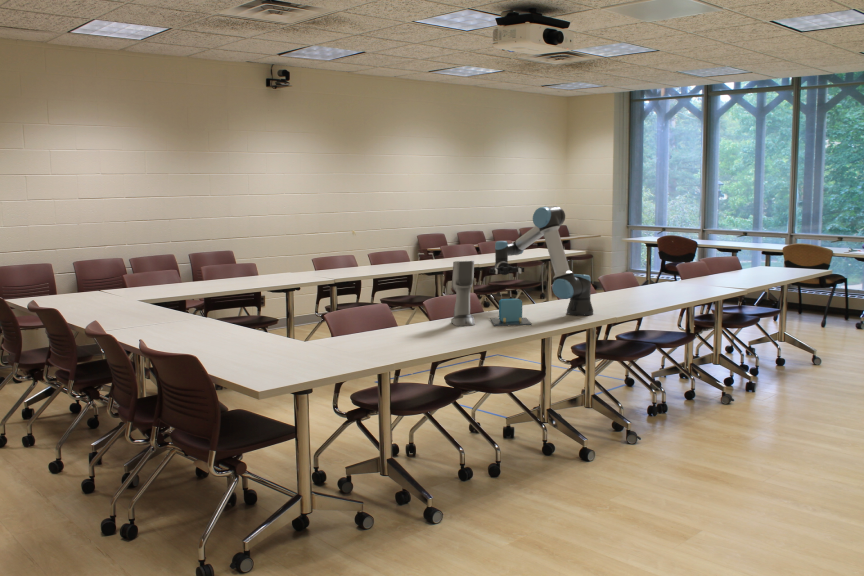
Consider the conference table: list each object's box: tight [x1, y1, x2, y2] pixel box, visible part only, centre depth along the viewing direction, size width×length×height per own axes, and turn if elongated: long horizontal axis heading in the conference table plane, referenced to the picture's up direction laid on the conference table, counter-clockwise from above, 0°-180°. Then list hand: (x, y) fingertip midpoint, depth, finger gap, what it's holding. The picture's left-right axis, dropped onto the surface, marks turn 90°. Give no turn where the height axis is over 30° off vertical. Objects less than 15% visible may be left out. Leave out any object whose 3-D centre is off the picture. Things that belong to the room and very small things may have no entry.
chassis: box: [489, 317, 532, 327], centre depth 398 cm, size 20×19×4 cm
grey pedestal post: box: [450, 260, 476, 327], centre depth 394 cm, size 12×13×35 cm
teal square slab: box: [498, 298, 523, 322], centre depth 397 cm, size 12×4×12 cm, turn 99°
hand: (508, 271), depth 414 cm, fingers open, 13 cm apart
